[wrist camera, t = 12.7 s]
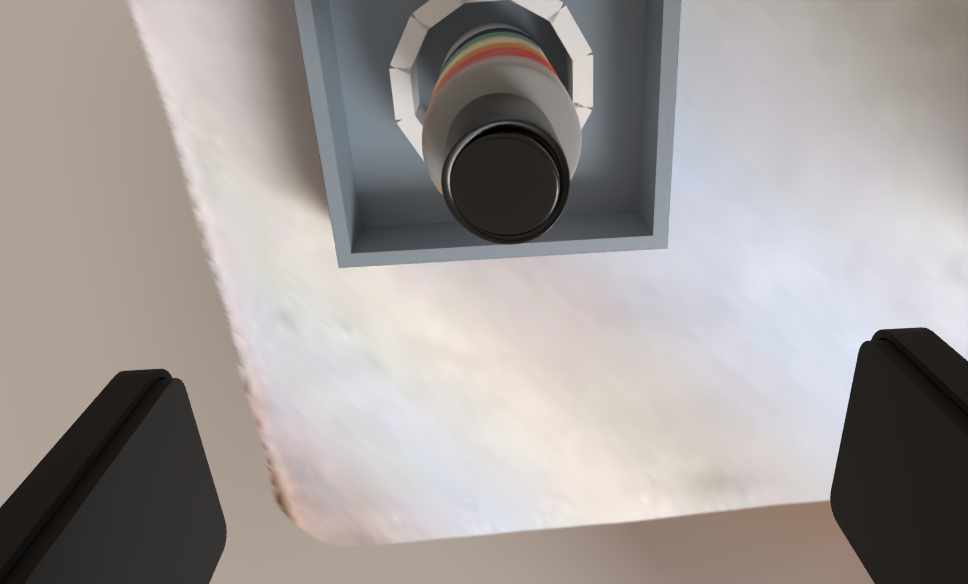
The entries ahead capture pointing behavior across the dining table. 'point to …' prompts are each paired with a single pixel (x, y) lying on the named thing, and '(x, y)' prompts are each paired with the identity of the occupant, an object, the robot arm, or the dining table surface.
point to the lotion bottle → (501, 136)
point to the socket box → (407, 93)
